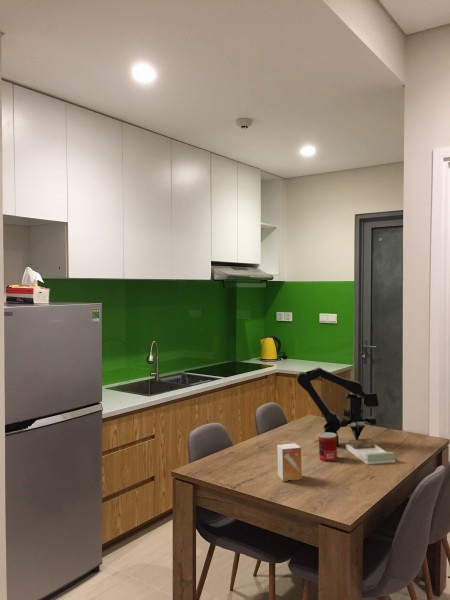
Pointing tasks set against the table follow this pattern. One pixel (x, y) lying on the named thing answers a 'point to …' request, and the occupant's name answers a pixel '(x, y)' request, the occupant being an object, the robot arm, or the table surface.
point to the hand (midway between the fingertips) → (356, 439)
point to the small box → (289, 462)
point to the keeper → (361, 443)
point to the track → (366, 450)
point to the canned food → (327, 446)
